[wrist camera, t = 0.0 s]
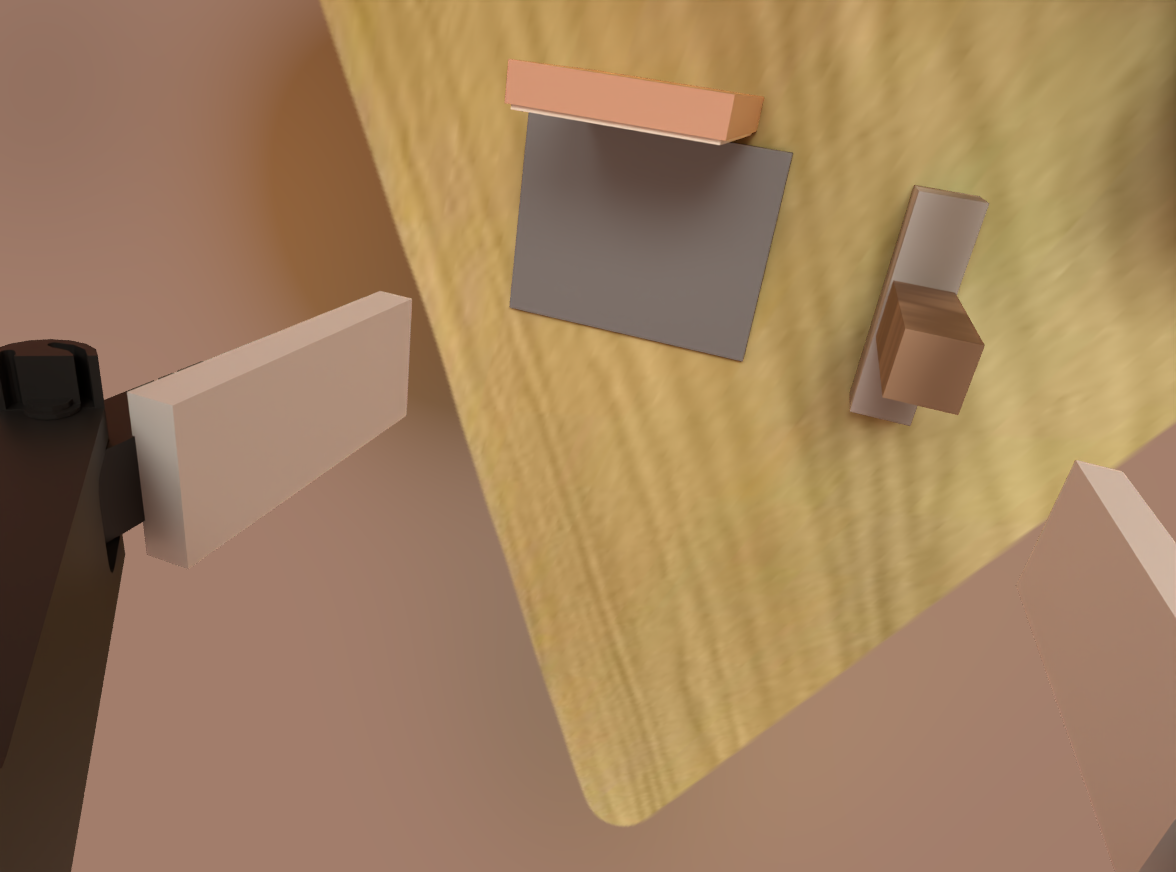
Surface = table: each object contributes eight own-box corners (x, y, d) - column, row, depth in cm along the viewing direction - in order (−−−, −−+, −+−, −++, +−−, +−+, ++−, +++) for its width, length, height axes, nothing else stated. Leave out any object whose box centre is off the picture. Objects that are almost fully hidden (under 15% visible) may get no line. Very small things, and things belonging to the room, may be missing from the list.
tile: (591, 69, 40) (508, 58, 30) (764, 96, 38) (735, 94, 28) (586, 106, 41) (504, 108, 31) (755, 135, 39) (724, 146, 29)
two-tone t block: (849, 392, 42) (850, 488, 32) (914, 184, 38) (939, 216, 27) (906, 405, 42) (925, 507, 31) (979, 196, 37) (1030, 232, 26)
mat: (531, 107, 41) (529, 108, 41) (793, 152, 39) (792, 153, 38) (512, 305, 46) (509, 307, 46) (743, 359, 43) (742, 361, 43)
